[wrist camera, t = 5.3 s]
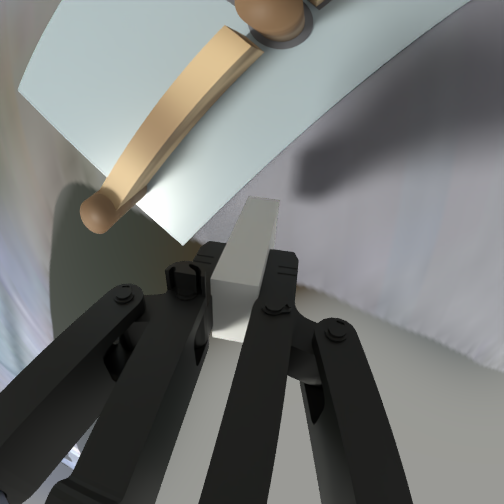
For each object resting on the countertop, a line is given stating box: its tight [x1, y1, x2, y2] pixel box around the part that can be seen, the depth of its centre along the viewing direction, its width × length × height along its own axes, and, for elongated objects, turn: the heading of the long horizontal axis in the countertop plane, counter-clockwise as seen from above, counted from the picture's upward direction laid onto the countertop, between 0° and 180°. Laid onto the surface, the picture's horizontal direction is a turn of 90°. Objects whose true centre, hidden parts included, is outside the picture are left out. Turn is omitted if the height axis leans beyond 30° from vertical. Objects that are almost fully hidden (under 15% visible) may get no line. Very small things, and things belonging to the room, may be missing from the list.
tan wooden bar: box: [80, 25, 264, 234], centre depth 14 cm, size 12×2×4 cm, turn 136°
